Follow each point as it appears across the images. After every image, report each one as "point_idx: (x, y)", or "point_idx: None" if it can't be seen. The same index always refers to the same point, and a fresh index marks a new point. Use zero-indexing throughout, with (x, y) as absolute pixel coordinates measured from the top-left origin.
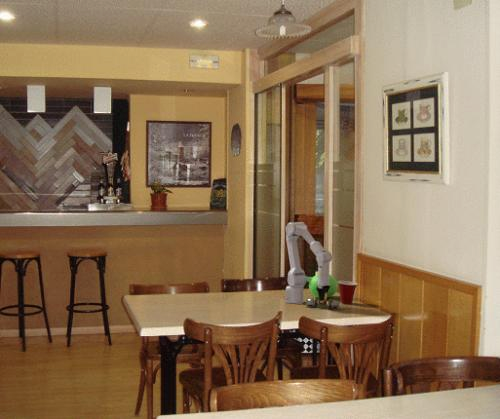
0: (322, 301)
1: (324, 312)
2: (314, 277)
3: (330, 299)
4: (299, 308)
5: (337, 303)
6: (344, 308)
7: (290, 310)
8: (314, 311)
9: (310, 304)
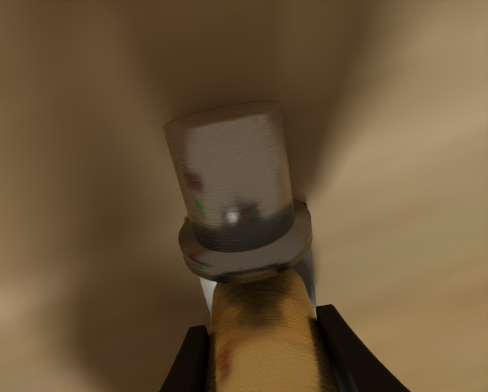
0: (312, 311)
1: (474, 163)
2: None
3: (273, 254)
4: None
5: (280, 112)
6: (103, 63)
7: (478, 384)
8: (455, 255)
9: None
